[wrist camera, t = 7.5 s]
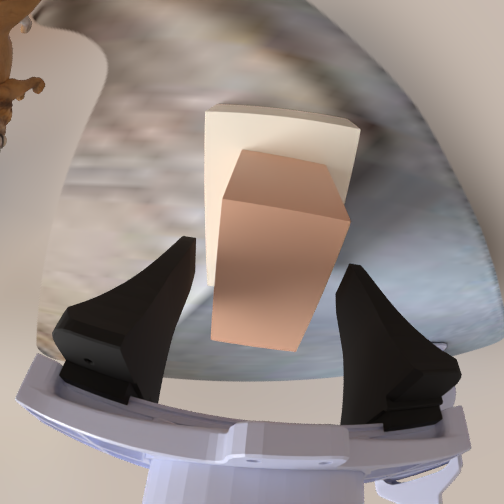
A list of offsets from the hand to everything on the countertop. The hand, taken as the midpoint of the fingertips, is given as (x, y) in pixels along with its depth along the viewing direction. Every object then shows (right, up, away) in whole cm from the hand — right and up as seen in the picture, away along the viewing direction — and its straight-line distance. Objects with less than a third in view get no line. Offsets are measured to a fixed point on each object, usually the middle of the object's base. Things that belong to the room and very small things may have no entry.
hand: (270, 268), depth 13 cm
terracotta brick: (0, +3, +4) cm, 4 cm away
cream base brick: (+1, +5, +6) cm, 8 cm away
